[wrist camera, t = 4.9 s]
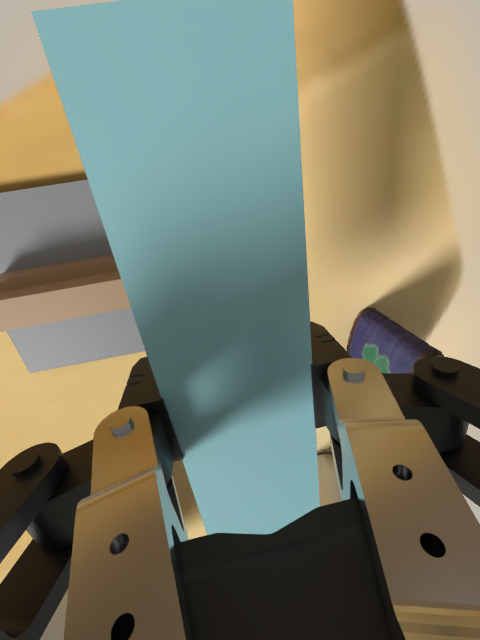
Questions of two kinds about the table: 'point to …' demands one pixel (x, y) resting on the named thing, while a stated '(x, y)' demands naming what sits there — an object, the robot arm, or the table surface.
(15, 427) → the table surface
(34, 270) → the fulcrum
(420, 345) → the flask
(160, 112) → the batten
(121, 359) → the table surface
